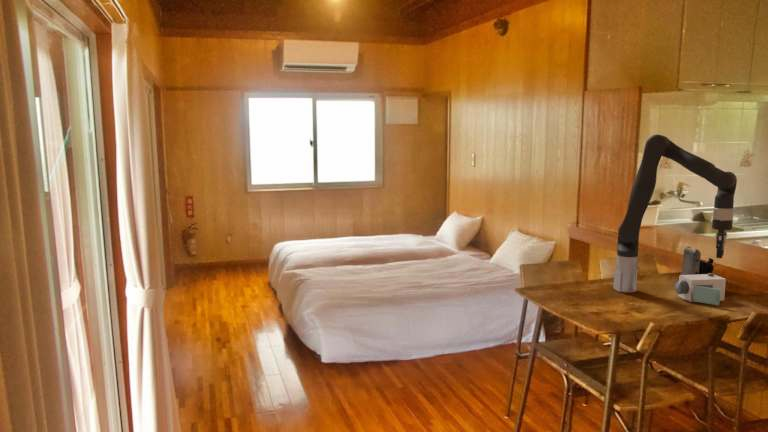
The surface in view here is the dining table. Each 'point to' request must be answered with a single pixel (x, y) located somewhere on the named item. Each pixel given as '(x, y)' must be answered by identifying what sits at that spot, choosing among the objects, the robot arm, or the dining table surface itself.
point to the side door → (705, 295)
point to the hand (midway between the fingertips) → (719, 256)
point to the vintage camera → (695, 263)
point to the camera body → (699, 284)
